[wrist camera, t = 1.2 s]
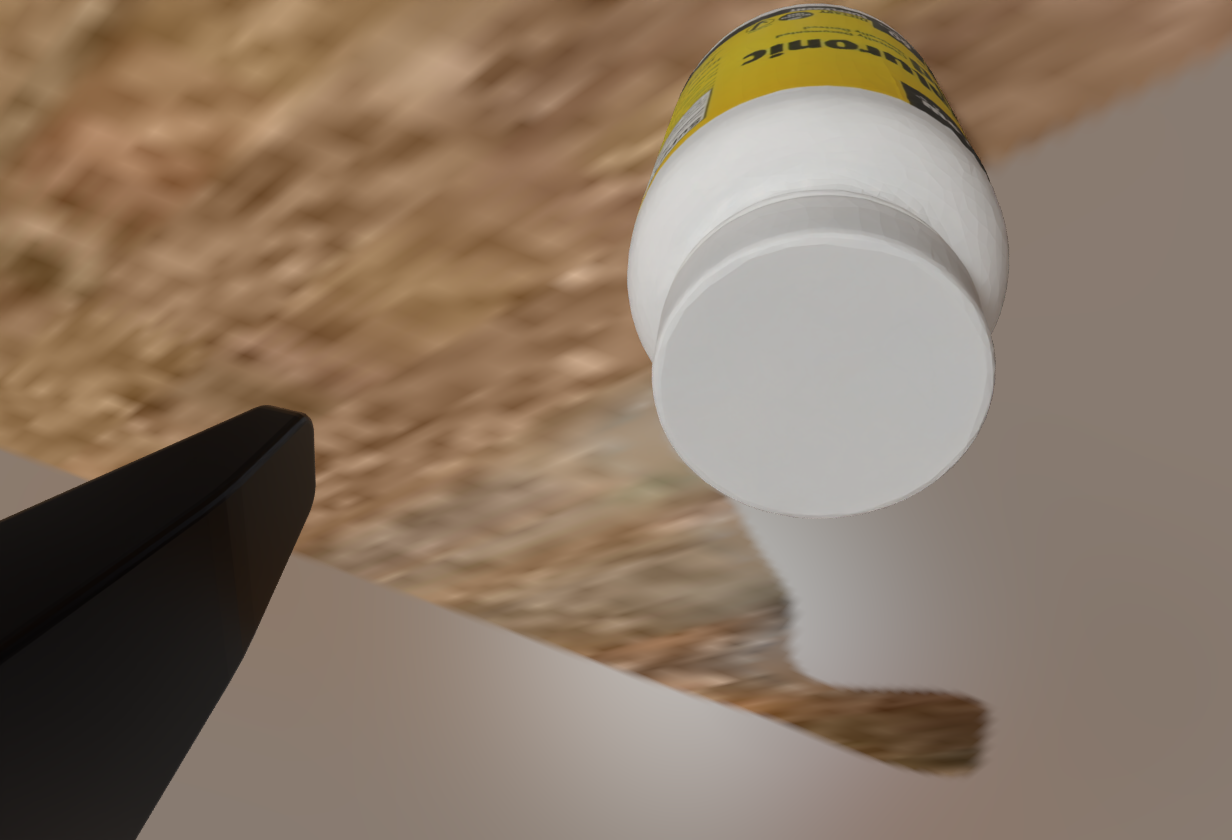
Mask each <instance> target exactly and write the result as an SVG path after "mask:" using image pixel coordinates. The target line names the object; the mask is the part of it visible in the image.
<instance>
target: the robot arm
mask: <svg viewBox="0 0 1232 840" xmlns="http://www.w3.org/2000/svg"><path fill="white" fill-rule="evenodd" d="M315 487H316V481H315V451H314V428H313V424H312V421H311V419H310V418H309V417H308V416H307V415H306V414H304V413H302V412H297V411H293V410H289V409H284V408H280V407H276V406H270V405H262V406H259V407H256V408H253V409H251V410H249V411H247V412H244V413H242V414H240V415H238V416H235V417H233V418H231V419H229V420H226V421H224V422H222V423H219V424H217V425H215V426H213V427H210V428H208V429H206V430H204V431H201V432H199V433H197V434H195V435H192V436H190V437H188V438H186V439H183V440H181V441H179V442H177V443H174V444H172V445H170V446H167V447H165V448H163V449H161V450H158V451H156V452H154V453H152V454H149V455H147V456H145V457H143V458H140V459H138V460H136V461H134V462H131V463H129V464H127V465H125V466H122V467H120V468H118V469H115V470H113V471H111V472H109V473H106V474H104V475H102V476H100V477H97V478H95V479H93V480H91V481H88V482H86V483H84V484H82V485H79V486H77V487H75V488H73V489H70V490H68V491H66V492H64V493H61V494H59V495H57V496H54V497H52V498H50V499H48V500H45V501H43V502H41V503H39V504H36V505H34V506H32V507H30V508H27V509H25V510H23V511H21V512H18V513H16V514H14V515H12V516H9V517H7V518H5V519H2V520H0V840H136V838H137V836H138V835H139V833H140V831H141V830H142V828H143V826H144V825H145V823H146V821H147V820H148V818H149V816H150V815H151V813H152V811H153V810H154V808H155V806H156V805H157V803H158V801H159V800H160V798H161V796H162V795H163V793H164V791H165V789H166V788H167V786H168V785H169V783H170V781H171V780H172V778H173V776H174V775H175V772H176V771H177V769H178V768H179V766H180V764H181V763H182V761H183V759H184V758H185V756H186V754H187V753H188V751H189V749H190V748H191V746H192V744H193V743H194V741H195V739H196V738H197V736H198V734H199V733H200V731H201V729H202V728H203V726H204V724H205V722H206V721H207V719H208V718H209V716H210V714H211V713H212V711H213V709H214V708H215V706H216V704H217V703H218V701H219V699H220V698H221V696H222V694H223V693H224V691H225V689H226V688H227V686H228V684H229V683H230V681H231V679H232V677H233V675H234V673H235V672H236V670H237V668H238V667H239V665H240V663H241V661H242V659H243V658H244V656H245V654H246V651H247V649H248V647H249V645H250V643H251V641H252V639H253V637H254V635H255V633H256V630H257V628H258V626H259V624H260V621H261V619H262V617H263V615H264V613H265V610H266V608H267V606H268V604H269V601H270V599H271V597H272V595H273V593H274V590H275V588H276V586H277V584H278V582H279V579H280V577H281V575H282V573H283V570H284V568H285V566H286V564H287V562H288V559H289V557H290V555H291V553H292V550H293V548H294V546H295V544H296V542H297V539H298V537H299V535H300V533H301V530H302V528H303V526H304V524H305V522H306V519H307V517H308V515H309V512H310V510H311V507H312V504H313V500H314V496H315Z"/></svg>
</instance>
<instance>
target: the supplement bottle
mask: <svg viewBox="0 0 1232 840" xmlns="http://www.w3.org/2000/svg"><path fill="white" fill-rule="evenodd" d="M1008 273H1009V246H1008V236H1007V231H1006V227H1005V222H1004V218H1003V215H1002V211H1001V208H1000V206H999V203H998V201H997V198H996V195H995V193H994V189H993V187H992V185H991V183H990V180H989V178H988V175H987V173H986V170H985V169H984V167H983V165H982V163H981V161H980V159H979V158H978V156H977V155H976V153H975V151H974V150H973V149H972V147H971V145H970V144H969V142H968V140H967V138H966V136H965V134H964V133H963V131H962V129H961V127H960V125H959V123H958V121H957V118H956V116H955V115H954V113H953V111H952V109H951V107H950V105H949V104H948V102H947V100H946V98H945V96H944V94H943V93H942V91H941V89H940V87H939V85H938V83H937V81H936V79H935V77H934V75H933V73H932V72H931V70H930V69H929V68H928V66H927V65H926V63H925V62H924V60H923V58H922V57H921V56H920V55H919V54H918V52H917V51H916V50H915V49H914V48H913V47H912V46H911V45H910V44H909V43H908V42H907V41H906V40H905V39H904V38H903V37H902V36H901V35H900V34H899V33H898V32H896V31H895V30H894V29H893V28H891V27H890V26H888V25H887V24H885V23H884V22H882V21H880V20H878V19H876V18H874V17H872V16H870V15H868V14H866V13H863V12H861V11H858V10H855V9H851V8H847V7H844V6H838V5H830V4H800V5H794V6H789V7H784V8H780V9H775V10H772V11H769V12H767V13H764V14H761V15H759V16H757V17H755V18H753V19H751V20H749V21H747V22H745V23H743V24H742V25H740V26H739V27H737V28H736V29H734V30H733V31H731V32H730V33H729V34H727V35H726V36H725V37H724V38H722V39H721V40H720V41H719V42H718V43H717V44H716V45H715V46H714V47H713V48H712V49H711V50H710V51H709V53H708V54H707V55H706V56H705V57H704V58H703V59H702V60H701V62H700V63H699V65H698V66H697V67H696V69H695V70H694V72H693V73H692V74H691V75H690V77H689V79H688V81H687V83H686V85H685V86H684V88H683V90H682V92H681V95H680V97H679V100H678V102H677V104H676V107H675V110H674V112H673V115H672V118H671V121H670V124H669V126H668V129H667V131H666V134H665V137H664V141H663V143H662V146H661V149H660V152H659V155H658V158H657V160H656V163H655V166H654V169H653V172H652V175H651V178H650V181H649V183H648V186H647V189H646V192H645V194H644V197H643V200H642V203H641V206H640V209H639V212H638V216H637V219H636V222H635V226H634V230H633V235H632V240H631V245H630V250H629V260H628V272H627V286H628V295H629V302H630V307H631V313H632V317H633V320H634V324H635V327H636V331H637V333H638V336H639V338H640V341H641V343H642V345H643V347H644V349H645V351H646V353H647V355H648V356H649V358H650V360H651V361H652V363H653V364H652V387H653V396H654V401H655V406H656V410H657V413H658V416H659V420H660V423H661V425H662V427H663V429H664V432H665V434H666V436H667V438H668V440H669V441H670V443H671V444H672V446H673V447H674V449H675V450H676V452H677V454H678V455H679V456H680V457H681V459H682V460H683V461H684V462H685V463H686V465H687V466H688V467H689V468H691V469H692V470H693V471H694V472H695V473H696V474H697V475H698V476H699V477H700V478H702V479H703V480H704V481H705V482H706V483H708V484H709V485H711V486H712V487H714V488H715V489H717V490H718V491H720V492H721V493H723V494H725V495H726V496H729V497H731V498H733V499H735V500H737V501H739V502H741V503H743V504H745V505H748V506H751V507H754V508H757V509H759V510H762V511H766V512H770V513H775V514H780V515H785V516H789V517H797V518H827V519H830V518H838V517H847V516H855V515H859V514H864V513H868V512H872V511H875V510H879V509H883V508H886V507H889V506H891V505H893V504H896V503H898V502H900V501H903V500H905V499H907V498H909V497H911V496H913V495H915V494H917V493H918V492H920V491H922V490H923V489H925V488H926V487H928V486H929V485H931V484H932V483H933V482H935V481H936V480H938V479H939V478H940V477H941V476H943V475H944V474H945V473H946V472H948V471H949V470H950V469H951V468H952V467H953V466H954V465H955V464H956V463H957V462H958V460H959V459H960V458H961V457H962V456H963V455H964V454H965V452H966V451H967V450H968V448H969V447H970V445H971V444H972V442H973V441H974V440H975V438H976V436H977V435H978V433H979V431H980V429H981V427H982V425H983V423H984V421H985V419H986V416H987V413H988V410H989V407H990V404H991V400H992V396H993V390H994V384H995V364H996V363H995V362H996V361H995V353H994V345H993V341H992V338H991V334H992V331H993V329H994V327H995V325H996V323H997V320H998V318H999V316H1000V312H1001V309H1002V306H1003V302H1004V298H1005V293H1006V289H1007V282H1008Z"/></svg>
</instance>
